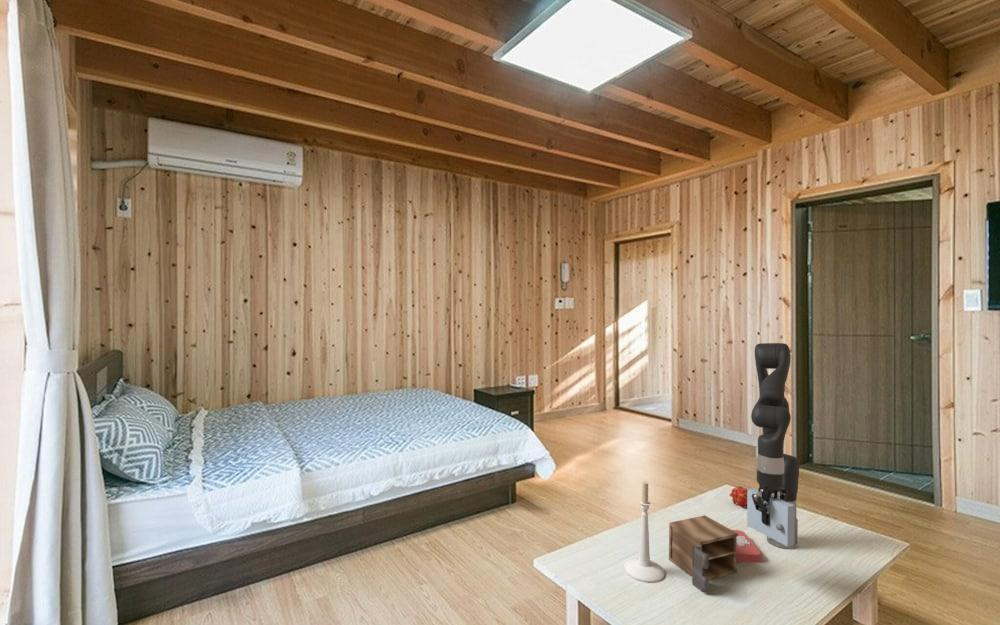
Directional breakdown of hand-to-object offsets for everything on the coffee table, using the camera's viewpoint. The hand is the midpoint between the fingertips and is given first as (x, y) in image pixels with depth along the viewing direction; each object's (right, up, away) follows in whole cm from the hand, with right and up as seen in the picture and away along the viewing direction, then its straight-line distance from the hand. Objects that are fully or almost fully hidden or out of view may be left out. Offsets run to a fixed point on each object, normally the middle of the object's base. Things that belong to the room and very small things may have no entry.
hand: (769, 522), depth 147 cm
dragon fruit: (+22, -19, +59) cm, 65 cm away
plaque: (-1, -20, +23) cm, 30 cm away
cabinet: (-17, -19, +7) cm, 27 cm away
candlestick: (-37, -20, +7) cm, 43 cm away
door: (0, -4, 0) cm, 4 cm away
